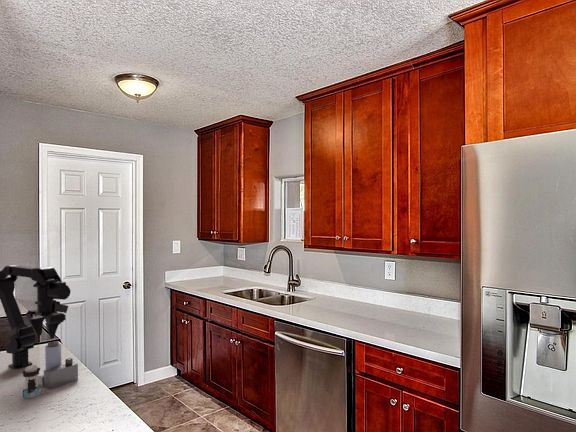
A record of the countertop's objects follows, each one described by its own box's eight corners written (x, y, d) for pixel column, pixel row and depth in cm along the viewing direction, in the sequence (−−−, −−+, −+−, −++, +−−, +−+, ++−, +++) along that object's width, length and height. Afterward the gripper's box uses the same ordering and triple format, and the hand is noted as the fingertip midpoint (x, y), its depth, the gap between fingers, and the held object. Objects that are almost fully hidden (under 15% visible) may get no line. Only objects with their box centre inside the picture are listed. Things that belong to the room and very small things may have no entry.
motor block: (36, 384, 154) (36, 362, 154) (64, 375, 163) (64, 354, 163) (50, 389, 150) (49, 366, 150) (77, 379, 158) (77, 358, 158)
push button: (42, 390, 149) (42, 362, 149) (46, 395, 145) (46, 366, 145) (20, 396, 144) (20, 367, 144) (24, 401, 140) (23, 371, 140)
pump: (42, 381, 157) (42, 343, 157) (56, 377, 161) (56, 339, 161) (50, 384, 154) (49, 345, 154) (64, 379, 159) (63, 341, 159)
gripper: (78, 296, 172) (78, 335, 172) (52, 293, 181) (53, 329, 181) (50, 301, 162) (51, 342, 162) (25, 297, 172) (25, 335, 172)
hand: (45, 337), depth 170 cm, fingers open, 9 cm apart
